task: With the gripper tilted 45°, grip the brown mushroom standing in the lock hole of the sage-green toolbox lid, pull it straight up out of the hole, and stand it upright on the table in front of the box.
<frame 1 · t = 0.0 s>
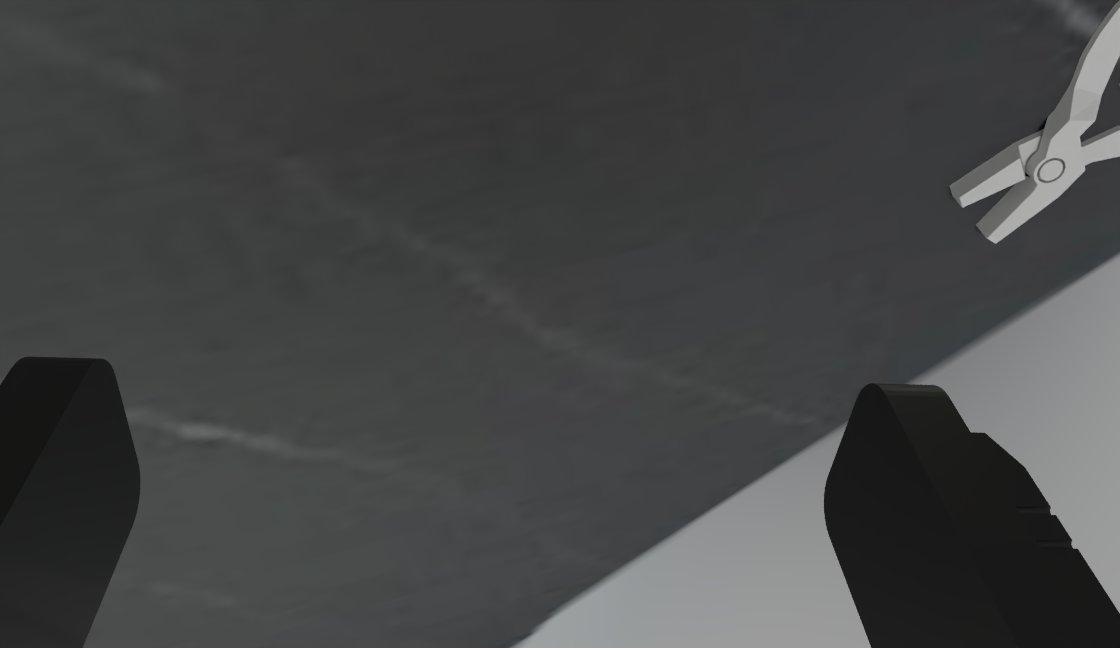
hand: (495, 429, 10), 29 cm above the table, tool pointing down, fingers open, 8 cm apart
pliers: (1107, 99, 41), on the table
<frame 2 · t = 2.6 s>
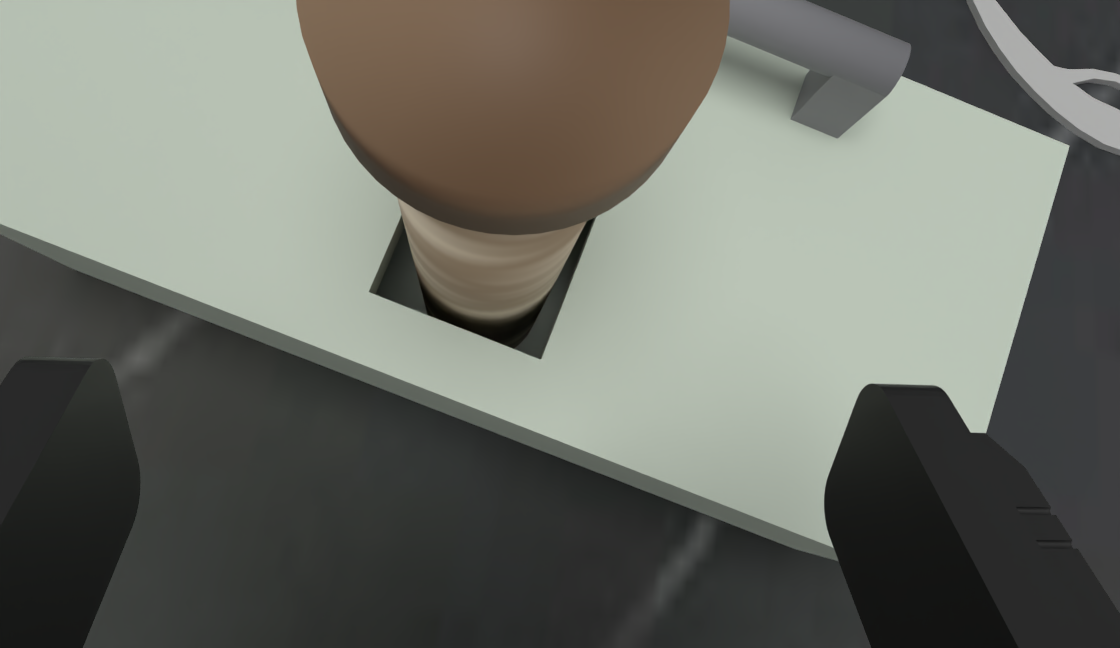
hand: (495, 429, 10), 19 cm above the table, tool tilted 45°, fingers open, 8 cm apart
toolbox: (504, 251, 29), on the table
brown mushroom: (482, 303, 28), point 1 cm above the table, touching toolbox
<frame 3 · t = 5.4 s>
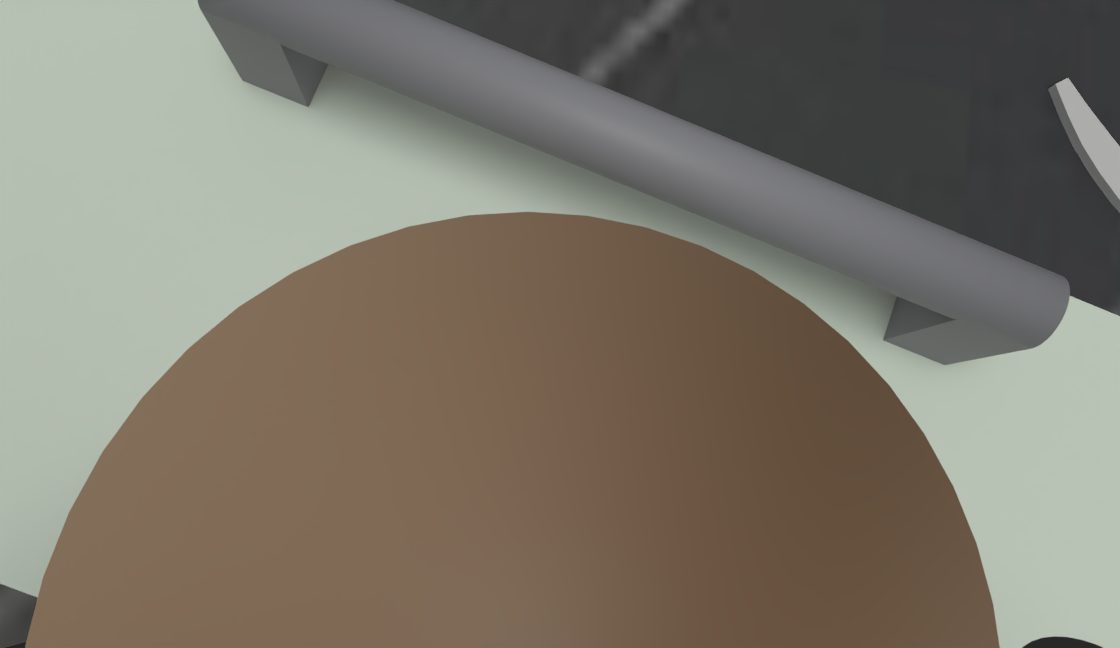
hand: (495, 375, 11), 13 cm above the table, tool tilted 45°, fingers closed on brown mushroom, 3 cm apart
toolbox: (505, 425, 24), on the table
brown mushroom: (477, 499, 23), point 1 cm above the table, touching gripper, toolbox
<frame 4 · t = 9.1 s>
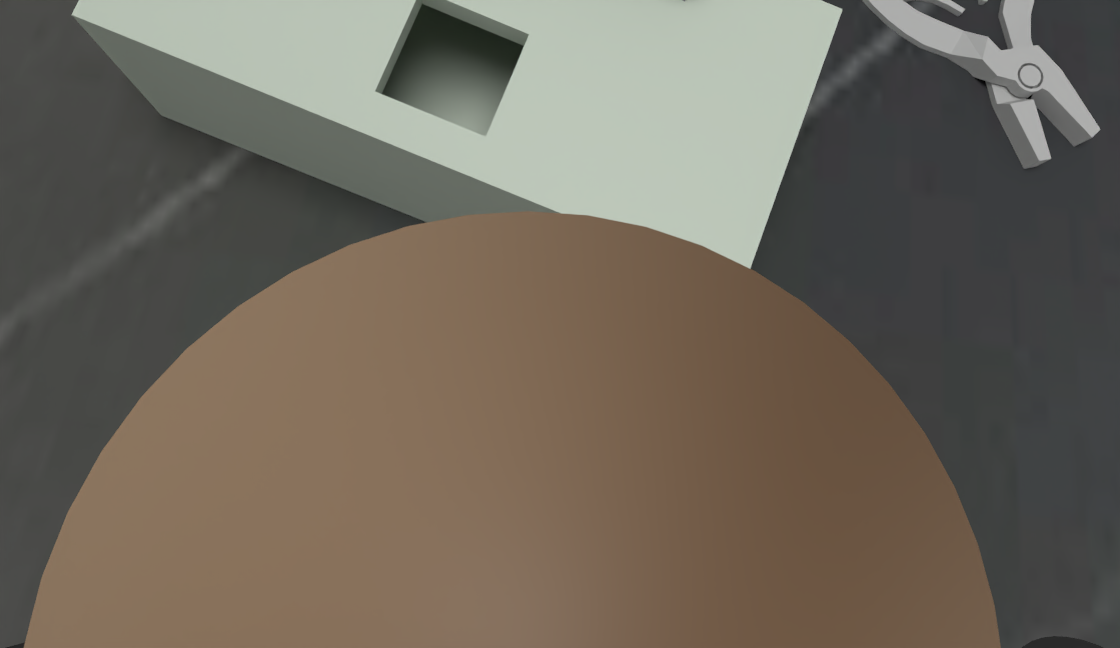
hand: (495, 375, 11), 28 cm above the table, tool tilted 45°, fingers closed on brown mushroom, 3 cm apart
pliers: (969, 25, 44), on the table
toolbox: (472, 109, 40), on the table
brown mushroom: (477, 499, 23), point 15 cm above the table, touching gripper
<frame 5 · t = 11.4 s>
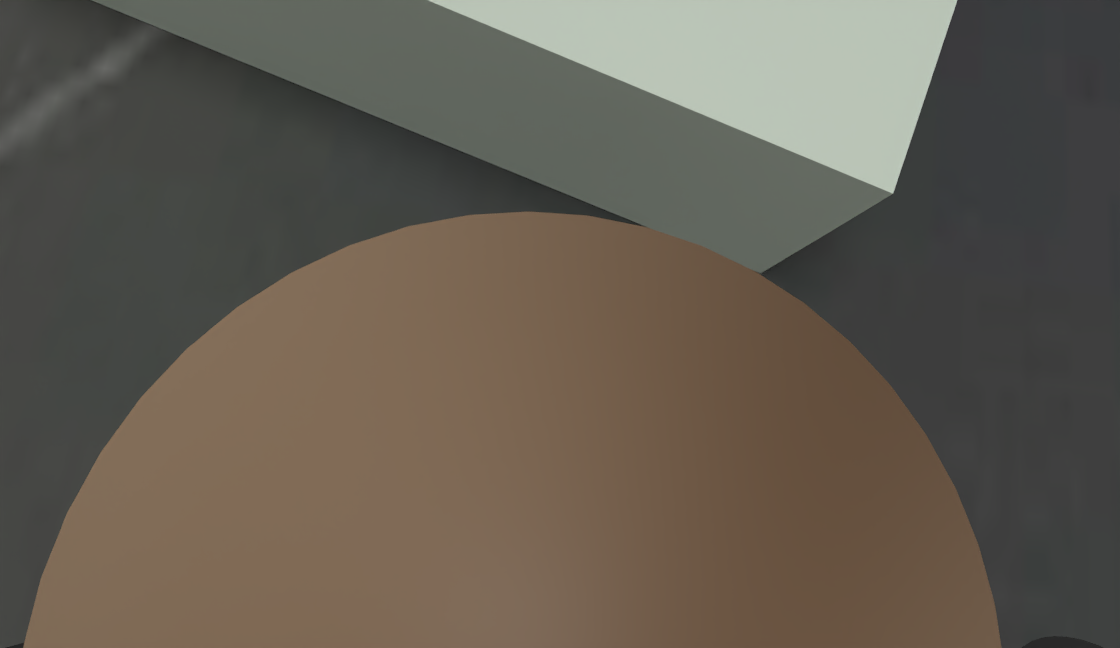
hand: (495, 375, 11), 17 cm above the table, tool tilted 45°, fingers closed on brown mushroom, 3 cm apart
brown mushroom: (477, 499, 23), point 4 cm above the table, touching gripper
when the fingers open (13 cm above the table, at t = 13.1 s): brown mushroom stays where it is, on the table.
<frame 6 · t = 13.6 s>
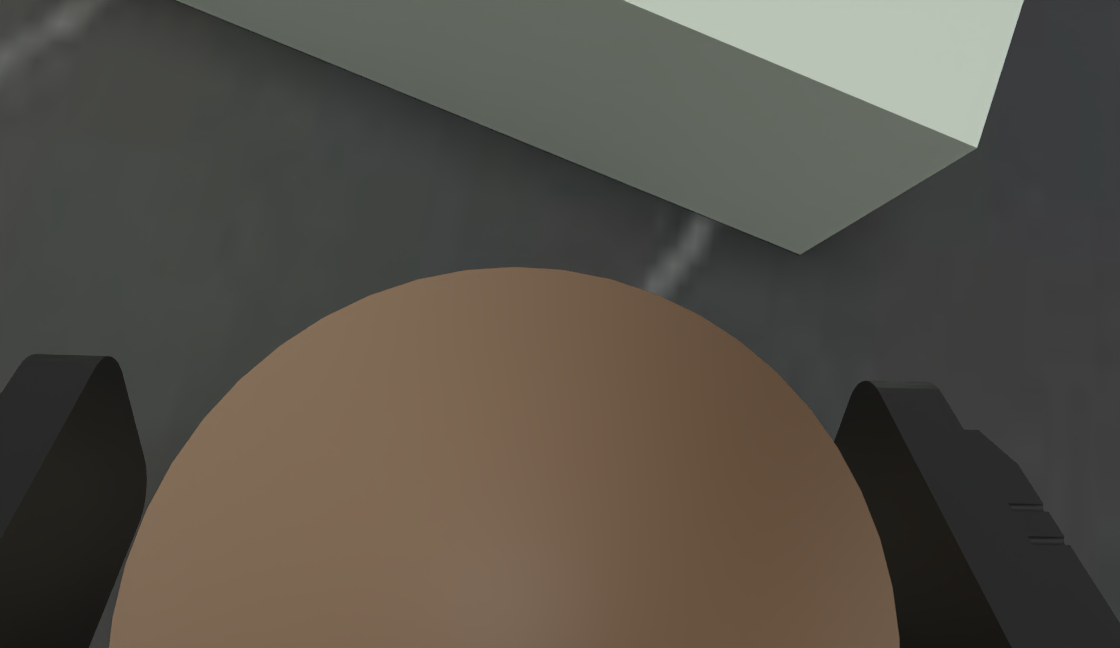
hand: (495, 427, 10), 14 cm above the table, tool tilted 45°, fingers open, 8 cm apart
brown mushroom: (476, 500, 24), on the table
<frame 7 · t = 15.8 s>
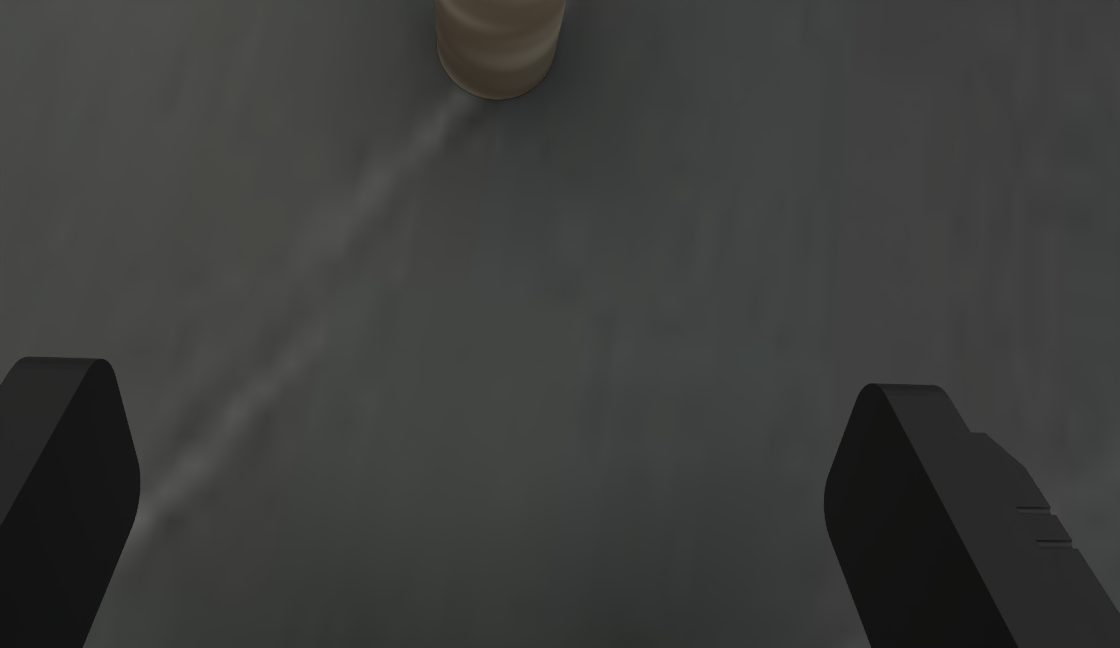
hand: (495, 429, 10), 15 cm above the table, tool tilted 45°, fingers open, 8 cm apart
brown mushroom: (496, 43, 26), on the table
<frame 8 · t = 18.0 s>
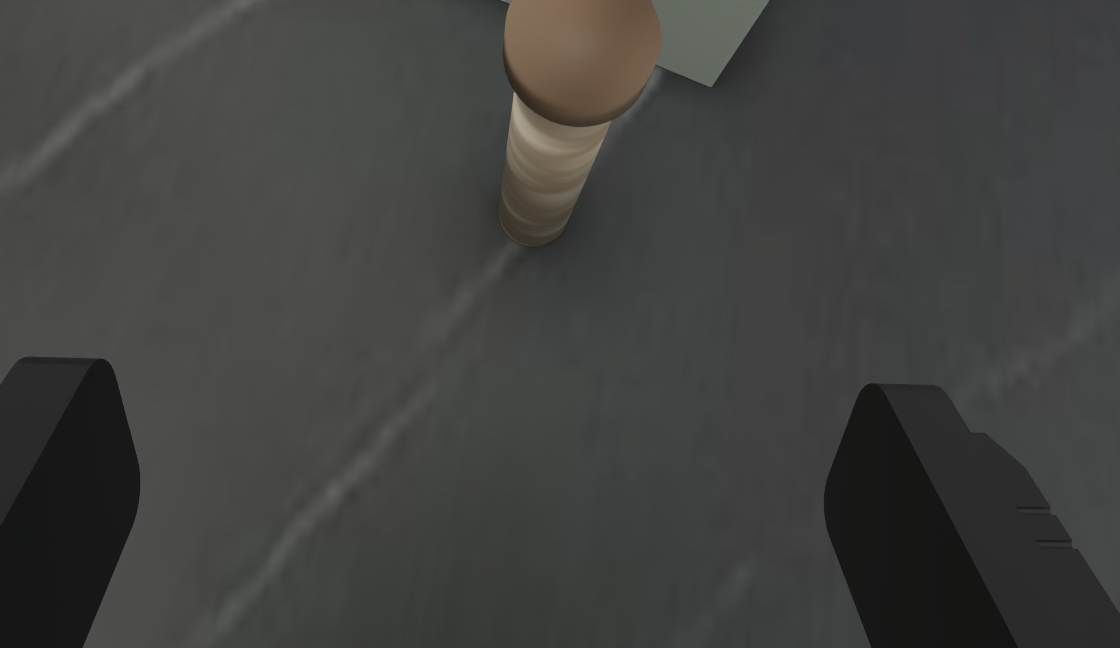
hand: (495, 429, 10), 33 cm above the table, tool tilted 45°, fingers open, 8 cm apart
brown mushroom: (533, 212, 44), on the table
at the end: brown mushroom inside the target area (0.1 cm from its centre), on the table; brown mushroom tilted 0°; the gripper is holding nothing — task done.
